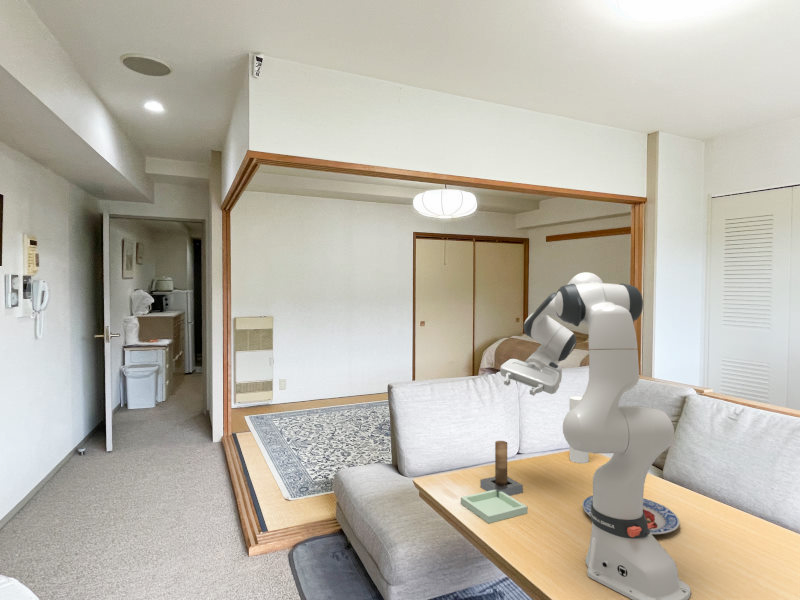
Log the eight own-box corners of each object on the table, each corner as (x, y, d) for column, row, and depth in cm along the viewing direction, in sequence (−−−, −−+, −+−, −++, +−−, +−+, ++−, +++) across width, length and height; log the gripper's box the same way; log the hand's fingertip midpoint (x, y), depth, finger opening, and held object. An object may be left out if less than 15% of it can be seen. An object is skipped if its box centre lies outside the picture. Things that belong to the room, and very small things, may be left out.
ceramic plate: (695, 546, 122) (695, 534, 122) (592, 536, 127) (591, 525, 127) (661, 503, 148) (661, 494, 148) (575, 496, 153) (575, 487, 153)
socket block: (522, 493, 154) (522, 484, 154) (498, 499, 150) (498, 490, 150) (503, 483, 163) (503, 474, 163) (480, 488, 159) (480, 479, 159)
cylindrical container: (585, 464, 181) (585, 400, 181) (567, 460, 186) (567, 398, 185) (590, 459, 187) (590, 397, 187) (572, 455, 191) (572, 395, 191)
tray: (527, 514, 139) (527, 506, 139) (488, 525, 133) (488, 516, 133) (497, 496, 152) (497, 488, 152) (460, 505, 146) (460, 497, 146)
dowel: (509, 490, 156) (509, 443, 156) (500, 492, 154) (500, 445, 154) (502, 486, 159) (502, 440, 159) (492, 488, 157) (492, 441, 157)
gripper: (511, 350, 167) (490, 370, 158) (566, 368, 154) (547, 391, 145) (511, 364, 170) (491, 385, 161) (565, 383, 157) (546, 406, 148)
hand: (518, 388), depth 153 cm, fingers open, 8 cm apart
